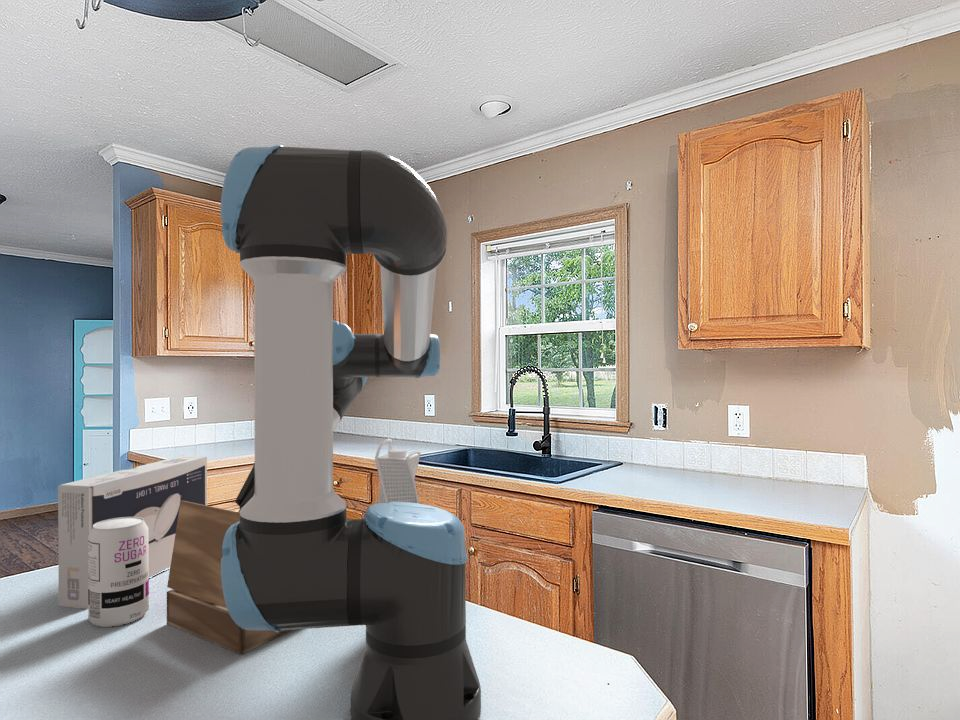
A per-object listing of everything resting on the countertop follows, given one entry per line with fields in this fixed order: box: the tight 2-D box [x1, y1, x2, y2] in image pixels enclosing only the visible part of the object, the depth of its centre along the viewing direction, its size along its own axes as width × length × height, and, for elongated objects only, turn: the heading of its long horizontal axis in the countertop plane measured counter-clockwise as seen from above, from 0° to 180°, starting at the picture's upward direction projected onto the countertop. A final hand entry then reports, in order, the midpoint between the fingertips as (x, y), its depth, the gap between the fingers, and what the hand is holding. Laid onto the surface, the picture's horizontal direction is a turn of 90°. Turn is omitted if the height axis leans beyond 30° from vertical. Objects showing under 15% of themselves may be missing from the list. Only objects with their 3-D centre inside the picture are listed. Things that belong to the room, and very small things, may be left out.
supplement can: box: [87, 517, 150, 628], centre depth 96 cm, size 8×8×15 cm
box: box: [166, 589, 293, 655], centre depth 95 cm, size 14×18×5 cm
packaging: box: [57, 455, 208, 609], centre depth 115 cm, size 30×6×20 cm, turn 168°
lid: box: [166, 501, 240, 608], centre depth 90 cm, size 1×17×13 cm, turn 57°
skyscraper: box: [374, 437, 421, 504], centre depth 95 cm, size 8×8×28 cm
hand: (224, 550), depth 93 cm, fingers closed
